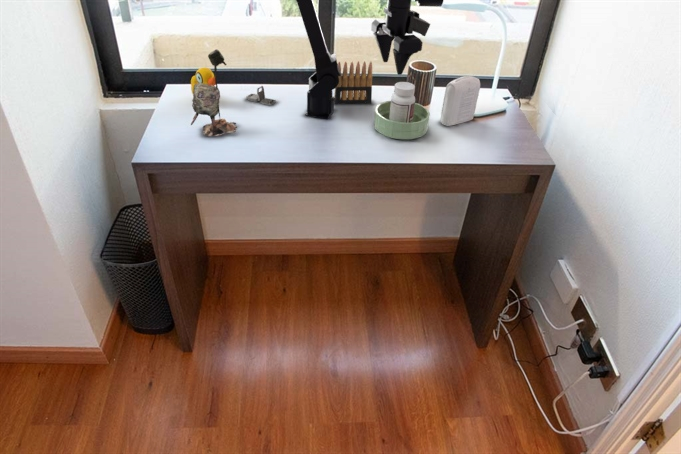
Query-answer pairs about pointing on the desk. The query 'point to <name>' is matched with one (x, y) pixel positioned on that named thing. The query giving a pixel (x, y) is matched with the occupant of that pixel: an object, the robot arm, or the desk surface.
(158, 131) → the desk surface
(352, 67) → the ammunition clip
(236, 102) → the desk surface
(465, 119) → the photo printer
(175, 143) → the desk surface
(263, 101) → the strap clip
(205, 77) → the duckling
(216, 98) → the rough stone-bodied figurine
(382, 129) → the bowl
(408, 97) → the pill bottle
